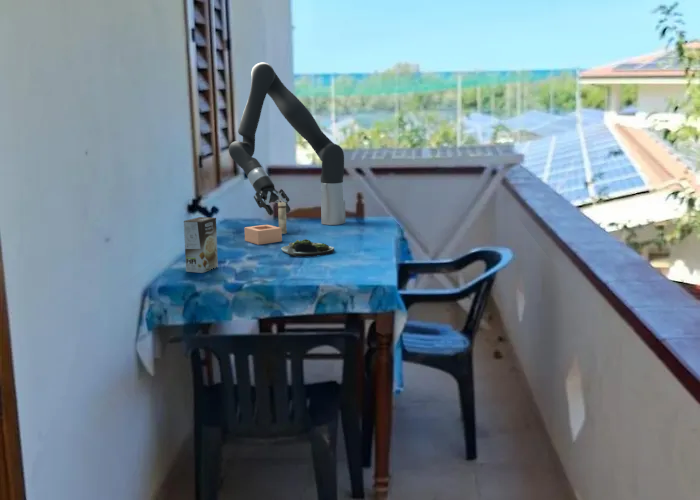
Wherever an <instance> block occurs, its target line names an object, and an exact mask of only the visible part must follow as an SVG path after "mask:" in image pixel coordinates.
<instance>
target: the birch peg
mask: <svg viewBox="0 0 700 500" xmlns="http://www.w3.org/2000/svg"><path fill="white" fill-rule="evenodd" d="M277 209H278V210H277V212H278V213H277V214H278V217H277V218H278V227H279V228H282V235H284V234H285V235H286V234H287V233H288V231H287V213H286V203H285V202H283V201H281V202H280V203H278V204H277Z"/></svg>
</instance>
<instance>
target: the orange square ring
mask: <svg viewBox="0 0 700 500" xmlns="http://www.w3.org/2000/svg"><path fill="white" fill-rule="evenodd" d="M244 241H245V242H247V243H251V244H255V245H258V246H259V245H266V244H272V243H278V242H282V241H283V234H282V228H279V226H275V225H271V224H262V225H253V226H246V227H244Z"/></svg>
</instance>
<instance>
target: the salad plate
mask: <svg viewBox="0 0 700 500" xmlns="http://www.w3.org/2000/svg"><path fill="white" fill-rule="evenodd" d="M281 250H282V252H283V253H285V254H288V255H289V256H292V257H296V256H311V257H318V256H317V255H320V256H326V254H327V255H330V254H332V253H333V252H334V251H335V247H334V246H330V245H328V244H327V243H321V242H312V241H311V240H309V239H306V238H304V239H302V240H299V239H296V240H295V241H294V242H289V243H288V245H285V246H281Z"/></svg>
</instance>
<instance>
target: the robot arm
mask: <svg viewBox="0 0 700 500" xmlns="http://www.w3.org/2000/svg"><path fill="white" fill-rule="evenodd" d="M250 74H251V75H250V76H251V77H250V78H251V84H250V90H249V94H248V98H247V101H246V105H245V106H244V109H243V112H242V115H241V119H240V121H239V125H238V131H237V132H238V135H240V136H242V141H235V140H234V141H232V142H231V143H229V147H228V154H229V155H230V157H231V159H232V160H233V162H235V163H236V164H237V165H238V167H240V168H241V170H243V172H244V173H245V175H246V177H247V178H248V181H249V182H250V184H251V186H252V188H253V189H254V191H255V193H254V195H253V199H254V200H255V202H256V204H257V206H258V207H259V208H260V209H265V211H266V212H267V214H268V215H269V216H273V215H274V213H275V211H274V210H273V208H272V206H271V203H276V204H277V205H278V203H280V202H285V203H286V214H289V213H290V211H291V207H290V205H289V204H288V203H289V202H290V200H291V199H290V198H289V196H288V195H287V194H286V192H285V191H284V189H282V188H281V189H280V190H277V189H276V188H275V183H274V182H273V181H272V179H271V178H270V176H269V175H268V173H267V172H266V170H265V169H264V168H263V166H262V164H261V163H260V161H259V160H258V159H257V158H255V157H253V156H254V154H255V147H256V133H257V130H258V125H259V123H260V119H261V116H262V115H261V114H262V110H263V106H264V103H265V100H266V96H267V95H268V96H269V97H270V98H271V100H272V102H274V105H275V106H276V107H277V109H278V110H279V112H280V114H281V115H282V116H283V118H284V119H285V120H286V121H287V122H288V123H289V125H290V127H291V126H292V128H293V129H294V130H295V132H296V133H298V134H299V135H300V136H301V137H302V138H303V139H304V140H305V141H306V142H307V144H309V145H310V147H311V148H312V149H313V151H314V152H315V154H316V155H317V157H318V158H319V160H320V161H321V174H320V205H321V206H320V208H321V211H320V212H321V214H320V215H321V217H320V218H321V221H320V223H321V225H326V226H327V225H328V226H329V225H330V226H338V225H342V224H346V200H344V176H345V175H344V174H345V153H344V150H343V148H342V147H341V146H340V145H338V144H336V143H334V142H333V141H332V140H331V139H330V138H329V137H328V136H327V135H326V134H325V133H324V132H323V131H322V129H321V128H320V126H319V124H318V122H317V121H316V119H315V118H314V116H313V114H312V113H311V112H310V111H309V109H308V107H307V106H305V104H304V103H303V102H302V101H301V100H300V99H299V98H298V97H297V96H296V95H295V94H294V93H293V92H292V91H290V90H289V89H288V88H287V87H286V85H285V84H284V83H283V82H282V80H281V79H280V78H279V76H278V75H277V72H276V71H275V70H274V68H273V67H272V65H271V64H269V63H267V62H264V61H263V62H258V63H256V64H255V65H254V66H253V67H252V68H251V73H250Z"/></svg>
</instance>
